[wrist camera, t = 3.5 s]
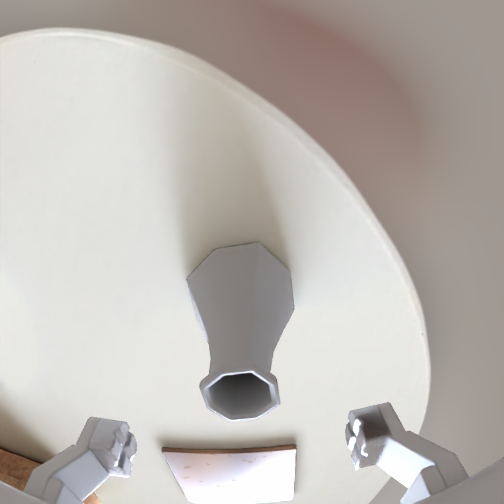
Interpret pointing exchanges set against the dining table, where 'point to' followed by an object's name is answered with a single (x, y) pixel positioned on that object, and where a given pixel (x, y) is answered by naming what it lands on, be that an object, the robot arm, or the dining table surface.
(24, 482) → the bread
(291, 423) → the dining table surface
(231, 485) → the coaster
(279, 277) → the flask
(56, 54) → the dining table surface
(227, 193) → the dining table surface
